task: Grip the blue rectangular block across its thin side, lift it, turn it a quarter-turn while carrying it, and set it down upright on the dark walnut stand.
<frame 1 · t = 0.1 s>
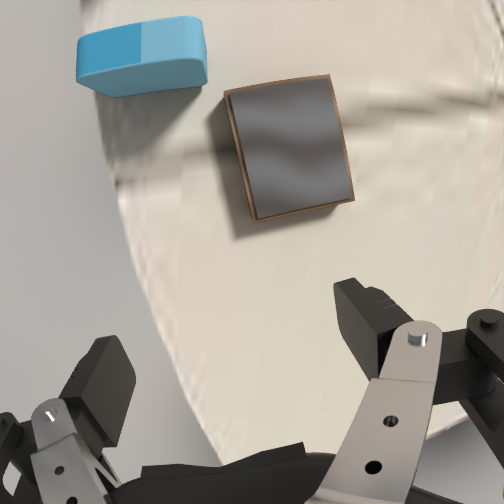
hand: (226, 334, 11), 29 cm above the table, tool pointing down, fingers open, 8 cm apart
blue rectangular block: (158, 74, 34), on the table
stand: (287, 146, 37), on the table
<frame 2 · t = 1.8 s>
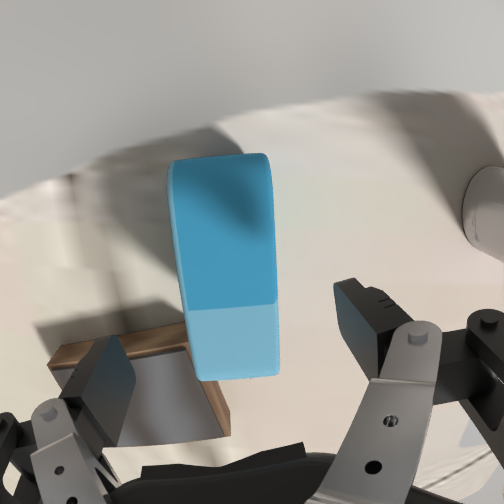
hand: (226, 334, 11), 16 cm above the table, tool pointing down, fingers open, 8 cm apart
blue rectangular block: (228, 230, 26), on the table
stand: (144, 383, 30), on the table
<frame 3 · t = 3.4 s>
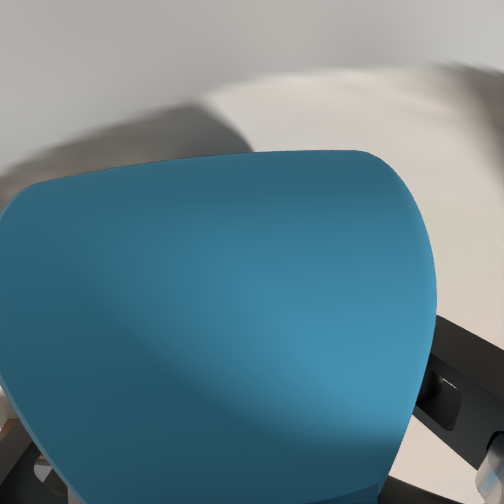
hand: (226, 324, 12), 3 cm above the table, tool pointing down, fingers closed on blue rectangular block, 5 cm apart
blue rectangular block: (225, 285, 15), on the table, touching gripper
stand: (116, 470, 19), on the table
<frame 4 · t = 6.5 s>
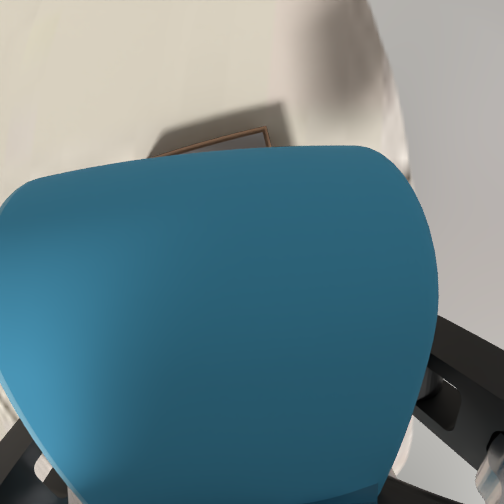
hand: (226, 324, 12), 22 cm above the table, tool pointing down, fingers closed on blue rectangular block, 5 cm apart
blue rectangular block: (225, 284, 15), point 18 cm above the table, touching gripper
stand: (221, 216, 33), on the table
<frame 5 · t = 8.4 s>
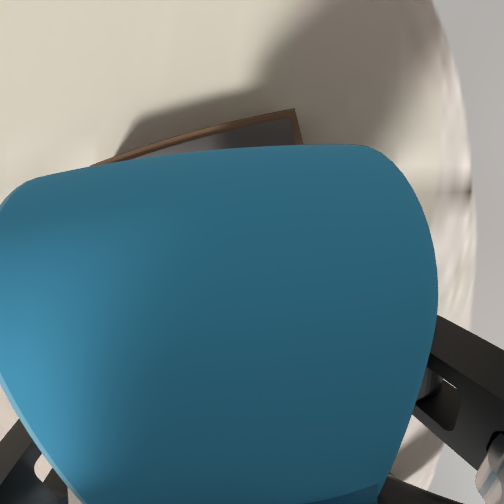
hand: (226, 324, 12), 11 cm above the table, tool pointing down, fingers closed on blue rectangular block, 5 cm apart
blue rectangular block: (225, 284, 15), point 7 cm above the table, touching gripper
stand: (222, 243, 22), on the table
when the fingers open (9 cm above the table, at t = 9.8 s): blue rectangular block drops 1 cm, resting on stand.
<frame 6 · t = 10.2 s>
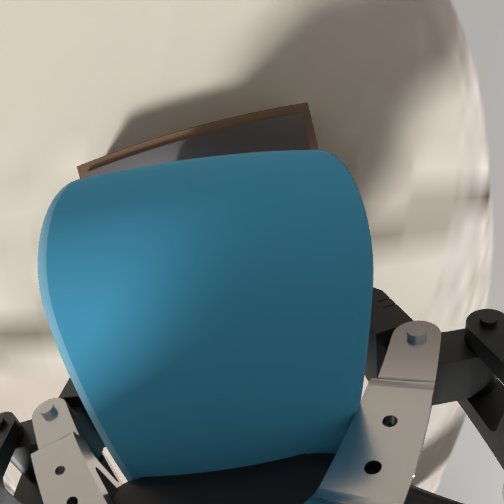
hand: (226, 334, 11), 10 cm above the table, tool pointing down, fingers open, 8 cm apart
blue rectangular block: (226, 275, 17), point 4 cm above the table, touching stand
stand: (224, 252, 20), on the table
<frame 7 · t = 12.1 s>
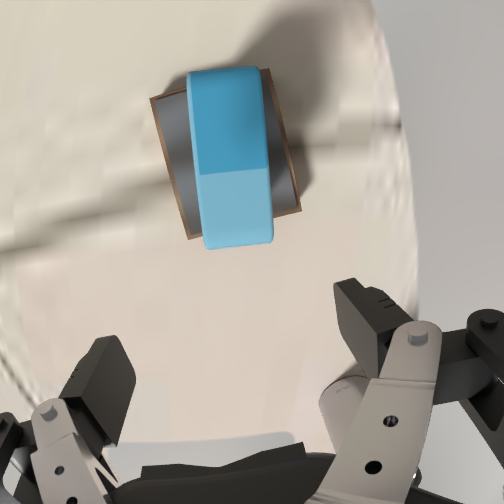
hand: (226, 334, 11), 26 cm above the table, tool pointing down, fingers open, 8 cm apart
blue rectangular block: (227, 153, 30), point 4 cm above the table, touching stand
stand: (226, 152, 34), on the table
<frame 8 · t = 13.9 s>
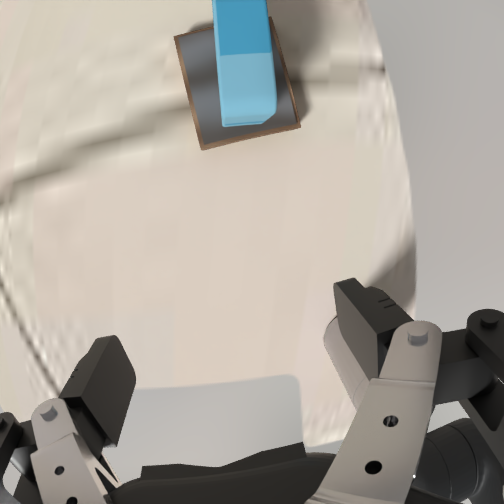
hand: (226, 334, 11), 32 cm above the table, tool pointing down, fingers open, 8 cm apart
blue rectangular block: (237, 77, 34), point 4 cm above the table, touching stand
stand: (235, 84, 37), on the table
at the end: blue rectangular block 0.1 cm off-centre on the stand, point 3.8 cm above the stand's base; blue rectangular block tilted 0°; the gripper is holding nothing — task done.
